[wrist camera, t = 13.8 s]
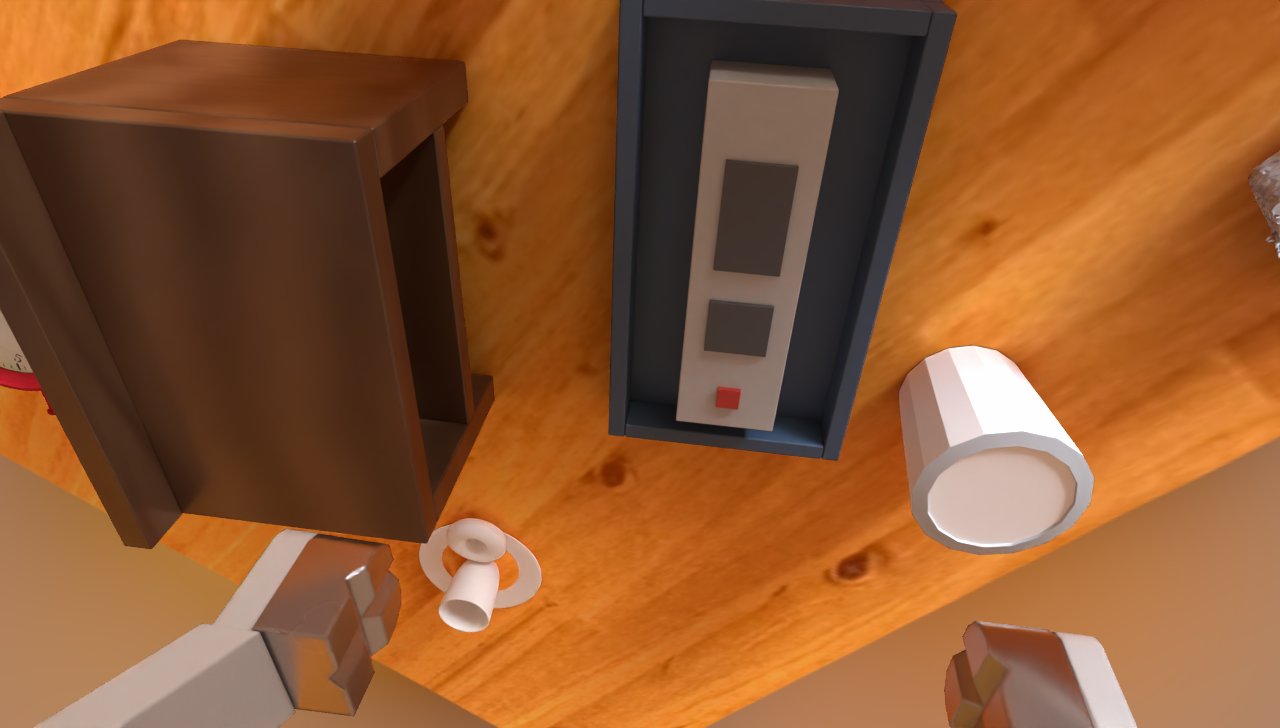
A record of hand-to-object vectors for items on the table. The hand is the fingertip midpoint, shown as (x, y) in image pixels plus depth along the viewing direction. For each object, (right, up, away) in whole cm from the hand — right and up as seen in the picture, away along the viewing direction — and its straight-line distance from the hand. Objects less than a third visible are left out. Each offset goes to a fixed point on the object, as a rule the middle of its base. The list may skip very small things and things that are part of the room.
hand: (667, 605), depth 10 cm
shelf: (-14, +9, +24) cm, 29 cm away
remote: (+4, +8, +21) cm, 23 cm away
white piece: (-8, -8, +36) cm, 38 cm away
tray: (+4, +9, +21) cm, 24 cm away
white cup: (+15, +2, +25) cm, 29 cm away
